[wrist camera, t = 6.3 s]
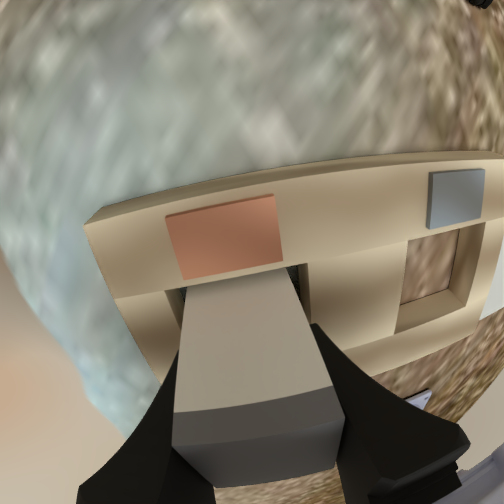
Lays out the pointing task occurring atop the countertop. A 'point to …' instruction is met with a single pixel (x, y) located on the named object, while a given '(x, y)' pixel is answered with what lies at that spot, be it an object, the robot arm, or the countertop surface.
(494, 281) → the mat
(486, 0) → the electric trimmer
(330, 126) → the countertop surface
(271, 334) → the peg
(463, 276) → the socket plate
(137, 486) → the robot arm
